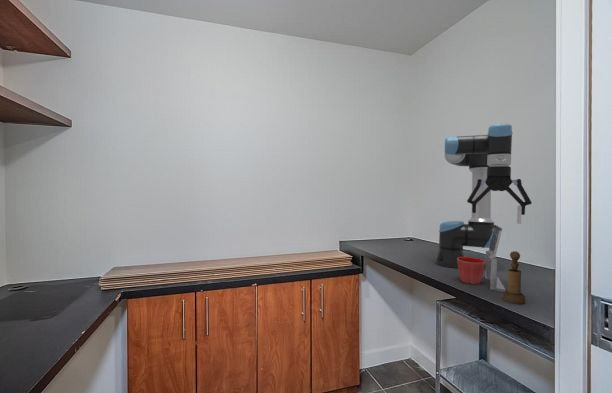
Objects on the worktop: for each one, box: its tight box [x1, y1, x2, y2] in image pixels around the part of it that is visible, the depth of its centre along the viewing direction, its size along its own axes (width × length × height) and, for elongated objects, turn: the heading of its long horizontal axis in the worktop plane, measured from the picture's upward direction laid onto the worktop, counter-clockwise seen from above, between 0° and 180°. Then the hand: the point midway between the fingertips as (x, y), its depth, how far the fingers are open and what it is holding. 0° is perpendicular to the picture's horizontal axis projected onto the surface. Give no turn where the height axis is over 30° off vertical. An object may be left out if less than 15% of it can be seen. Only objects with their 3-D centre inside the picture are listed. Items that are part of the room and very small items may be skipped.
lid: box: [487, 224, 503, 259], centre depth 126 cm, size 13×14×2 cm
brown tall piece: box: [502, 250, 526, 305], centre depth 107 cm, size 7×6×18 cm
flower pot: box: [457, 256, 486, 285], centre depth 130 cm, size 11×11×10 cm
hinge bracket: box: [484, 250, 507, 293], centre depth 126 cm, size 19×5×12 cm, turn 155°
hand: (497, 222), depth 112 cm, fingers open, 13 cm apart
